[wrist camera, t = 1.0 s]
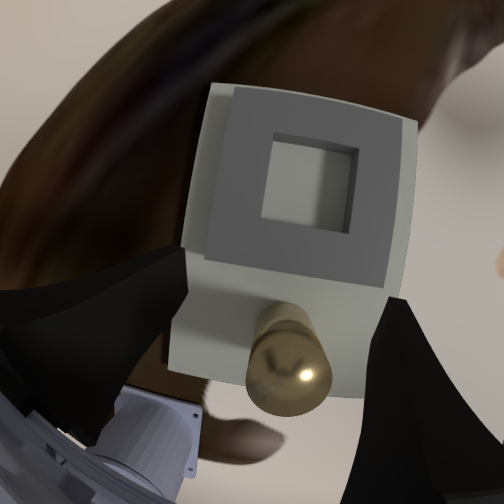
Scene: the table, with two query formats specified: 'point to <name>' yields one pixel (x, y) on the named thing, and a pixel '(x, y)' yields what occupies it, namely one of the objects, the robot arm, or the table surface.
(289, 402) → the brass rounded knob
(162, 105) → the table surface
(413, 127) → the socket plate
